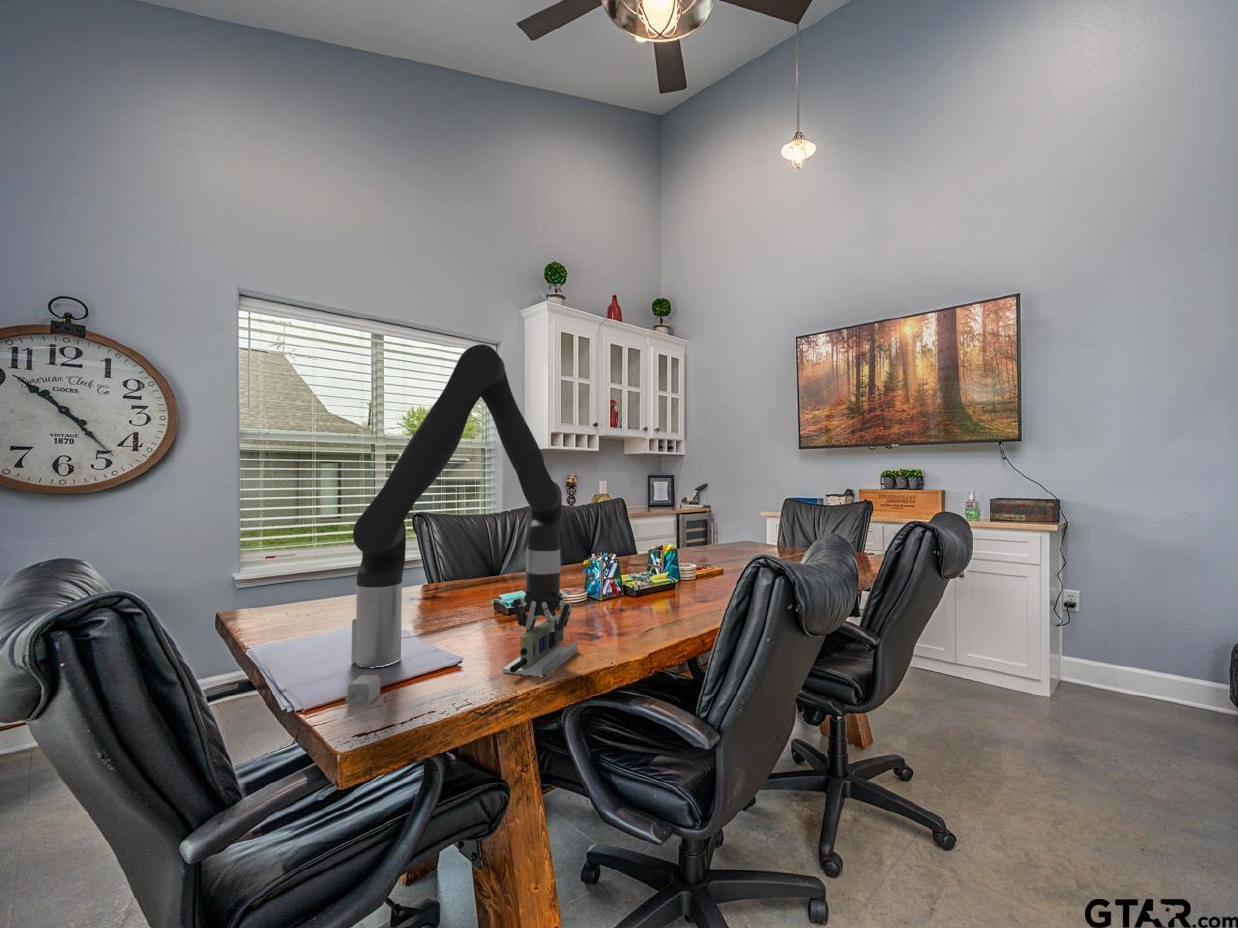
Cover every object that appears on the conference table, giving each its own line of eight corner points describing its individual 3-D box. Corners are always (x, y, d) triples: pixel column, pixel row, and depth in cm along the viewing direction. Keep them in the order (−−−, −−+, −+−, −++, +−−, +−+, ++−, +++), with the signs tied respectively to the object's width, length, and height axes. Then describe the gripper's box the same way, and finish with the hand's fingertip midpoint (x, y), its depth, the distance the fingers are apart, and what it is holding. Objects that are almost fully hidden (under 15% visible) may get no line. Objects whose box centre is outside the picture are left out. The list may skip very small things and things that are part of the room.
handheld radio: (566, 642, 142) (520, 677, 118) (553, 640, 143) (505, 675, 119) (566, 614, 142) (520, 643, 118) (553, 613, 143) (505, 642, 119)
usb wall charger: (380, 696, 109) (380, 675, 109) (362, 712, 103) (362, 689, 103) (359, 696, 110) (359, 674, 110) (339, 711, 103) (340, 688, 103)
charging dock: (502, 672, 123) (502, 662, 123) (538, 647, 140) (538, 638, 140) (546, 677, 120) (546, 667, 120) (577, 651, 138) (577, 642, 138)
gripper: (506, 570, 129) (504, 648, 129) (567, 574, 125) (565, 655, 125) (521, 564, 136) (520, 638, 136) (579, 568, 132) (577, 645, 132)
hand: (541, 646), depth 130 cm, fingers open, 4 cm apart
